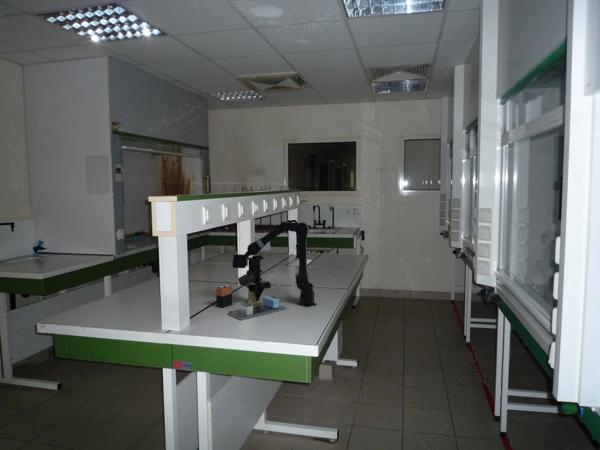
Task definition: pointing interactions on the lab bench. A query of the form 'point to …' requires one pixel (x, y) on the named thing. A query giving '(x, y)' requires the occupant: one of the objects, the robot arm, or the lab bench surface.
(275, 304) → the block
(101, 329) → the lab bench surface
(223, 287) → the battery
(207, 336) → the lab bench surface
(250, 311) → the vise
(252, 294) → the brass block
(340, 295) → the lab bench surface
